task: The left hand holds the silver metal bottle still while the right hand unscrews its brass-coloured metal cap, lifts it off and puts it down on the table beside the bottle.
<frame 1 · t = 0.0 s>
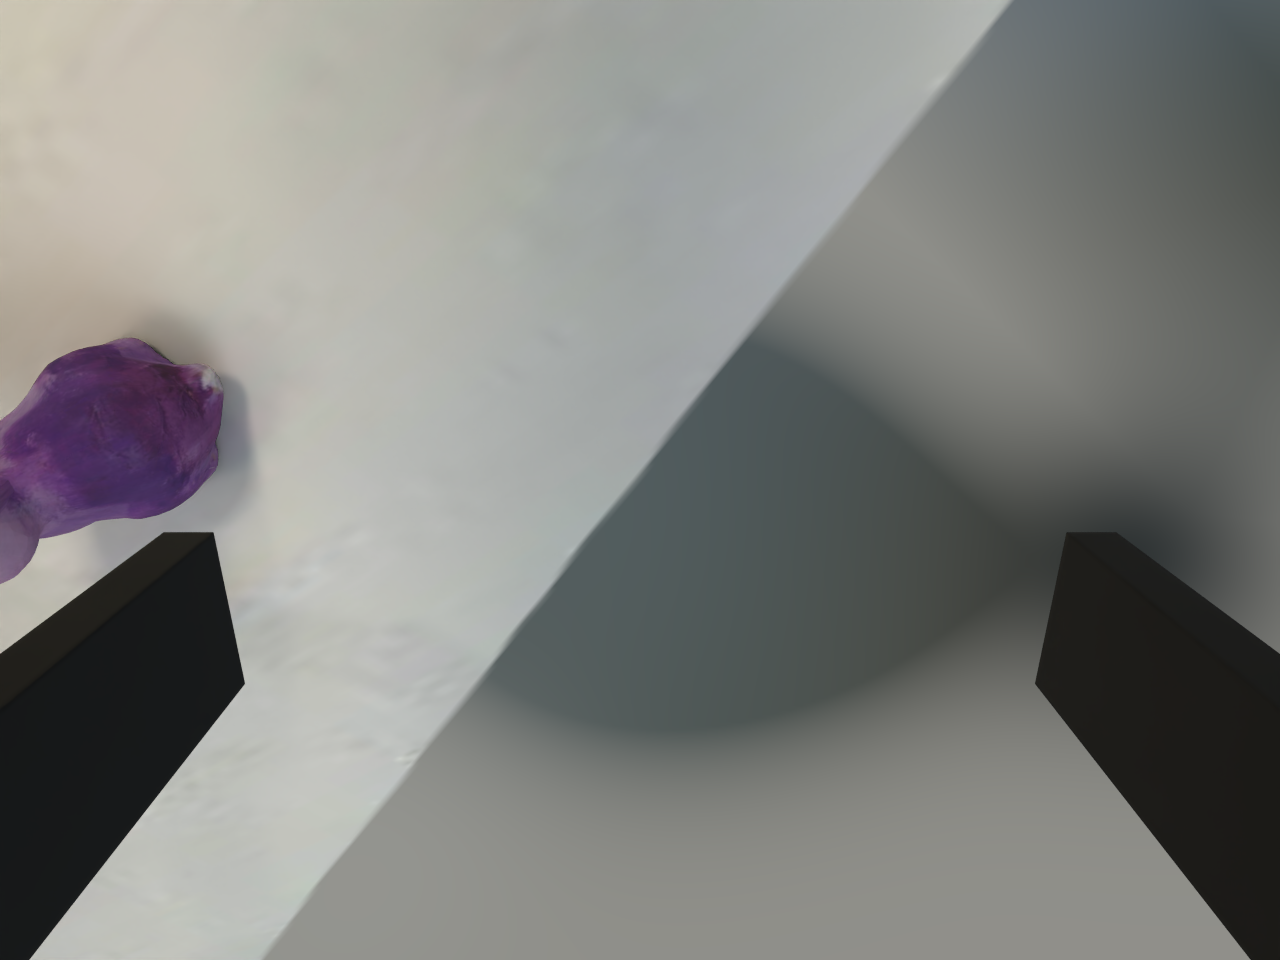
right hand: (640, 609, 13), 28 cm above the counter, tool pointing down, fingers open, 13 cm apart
figurine: (144, 432, 41), on the counter
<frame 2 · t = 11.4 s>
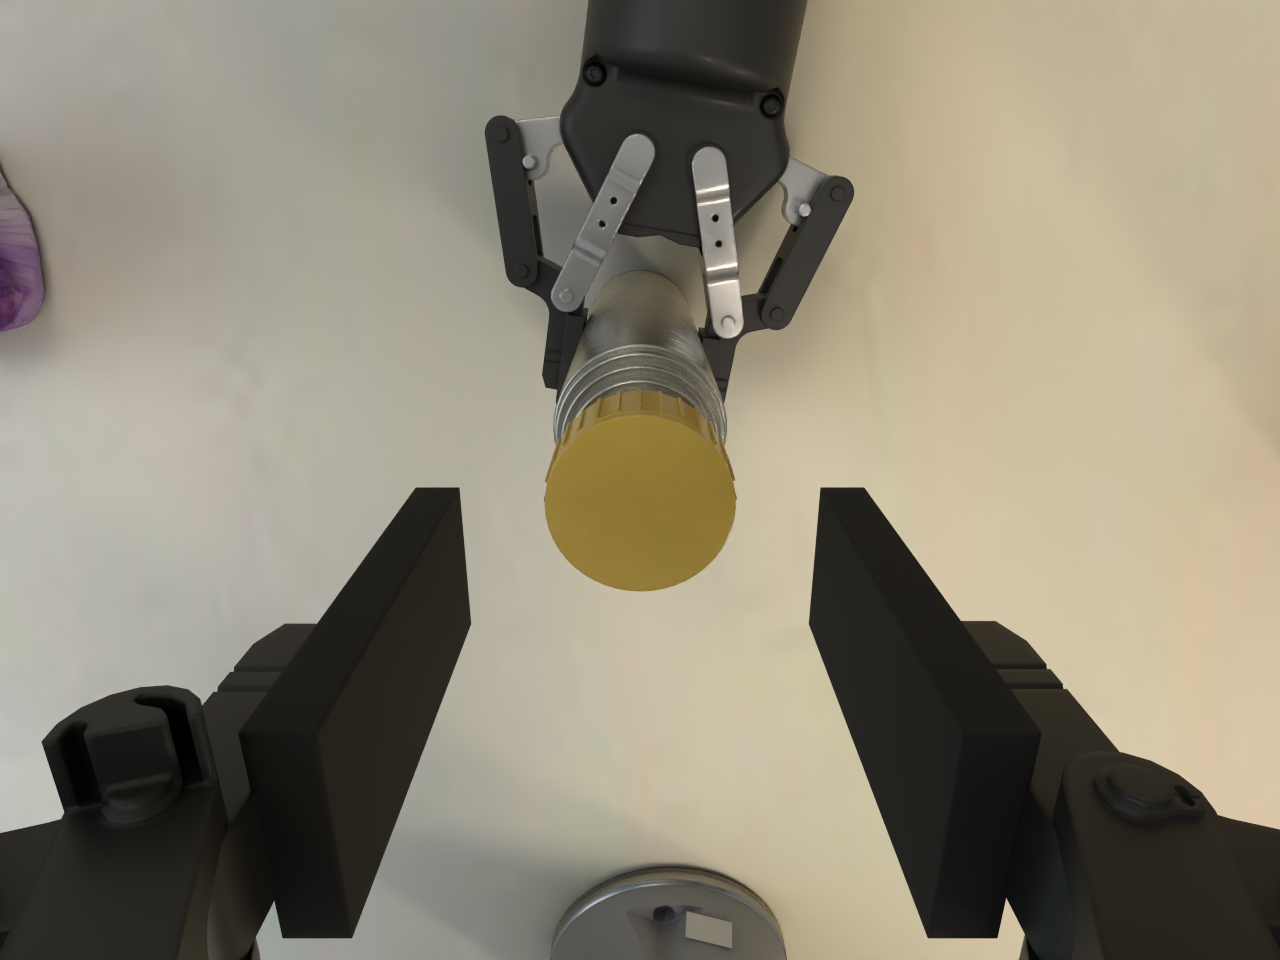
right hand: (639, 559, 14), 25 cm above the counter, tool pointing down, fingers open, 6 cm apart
left hand: (630, 408, 33), fingers closed on bottle, 4 cm apart
cap: (640, 501, 17), point 23 cm above the counter, screwed on, not yet turned
bottle: (640, 321, 38), on the counter, touching left hand
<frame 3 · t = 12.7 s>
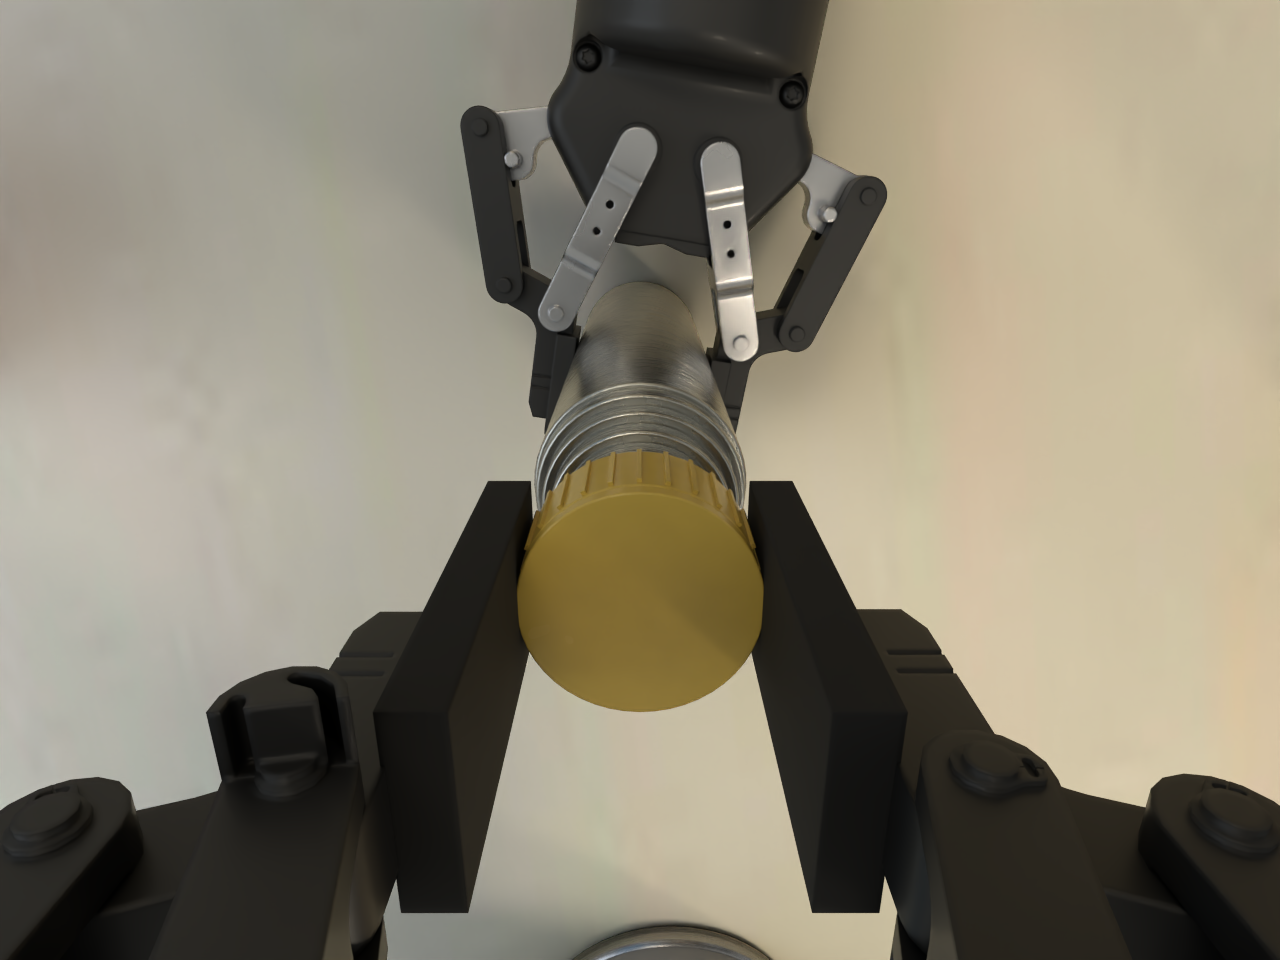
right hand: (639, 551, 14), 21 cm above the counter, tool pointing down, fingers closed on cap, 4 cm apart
left hand: (629, 439, 29), fingers closed on bottle, 4 cm apart
cap: (640, 599, 13), point 23 cm above the counter, screwed on, not yet turned, touching right hand
bottle: (640, 337, 34), on the counter, touching left hand
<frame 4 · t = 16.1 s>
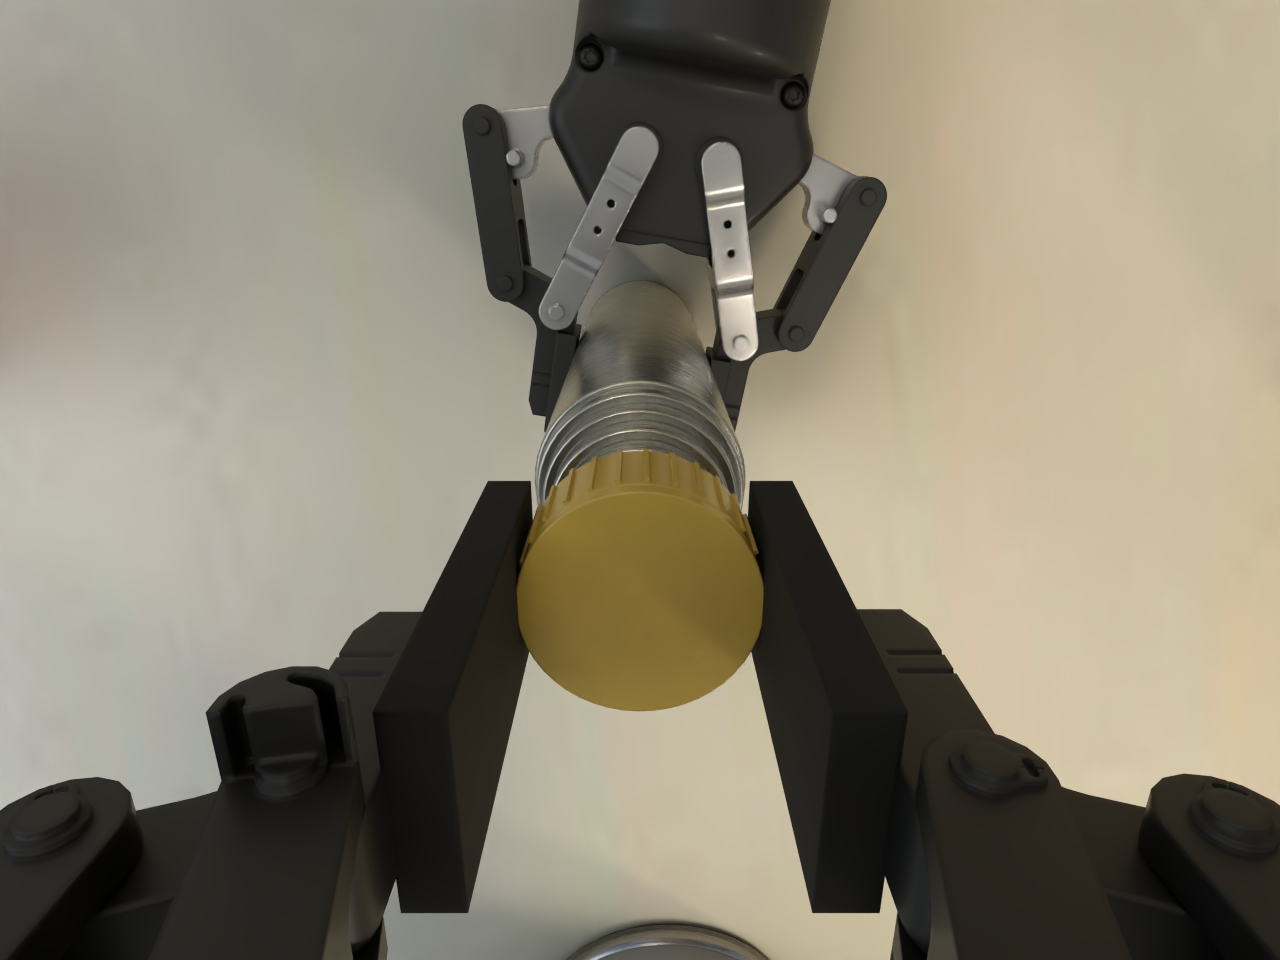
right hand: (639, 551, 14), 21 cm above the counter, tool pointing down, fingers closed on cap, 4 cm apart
left hand: (628, 438, 29), fingers closed on bottle, 4 cm apart
cap: (640, 598, 13), point 23 cm above the counter, turned 113° so far, risen 0.1 cm, still on its thread, touching right hand
bottle: (640, 336, 34), on the counter, touching left hand
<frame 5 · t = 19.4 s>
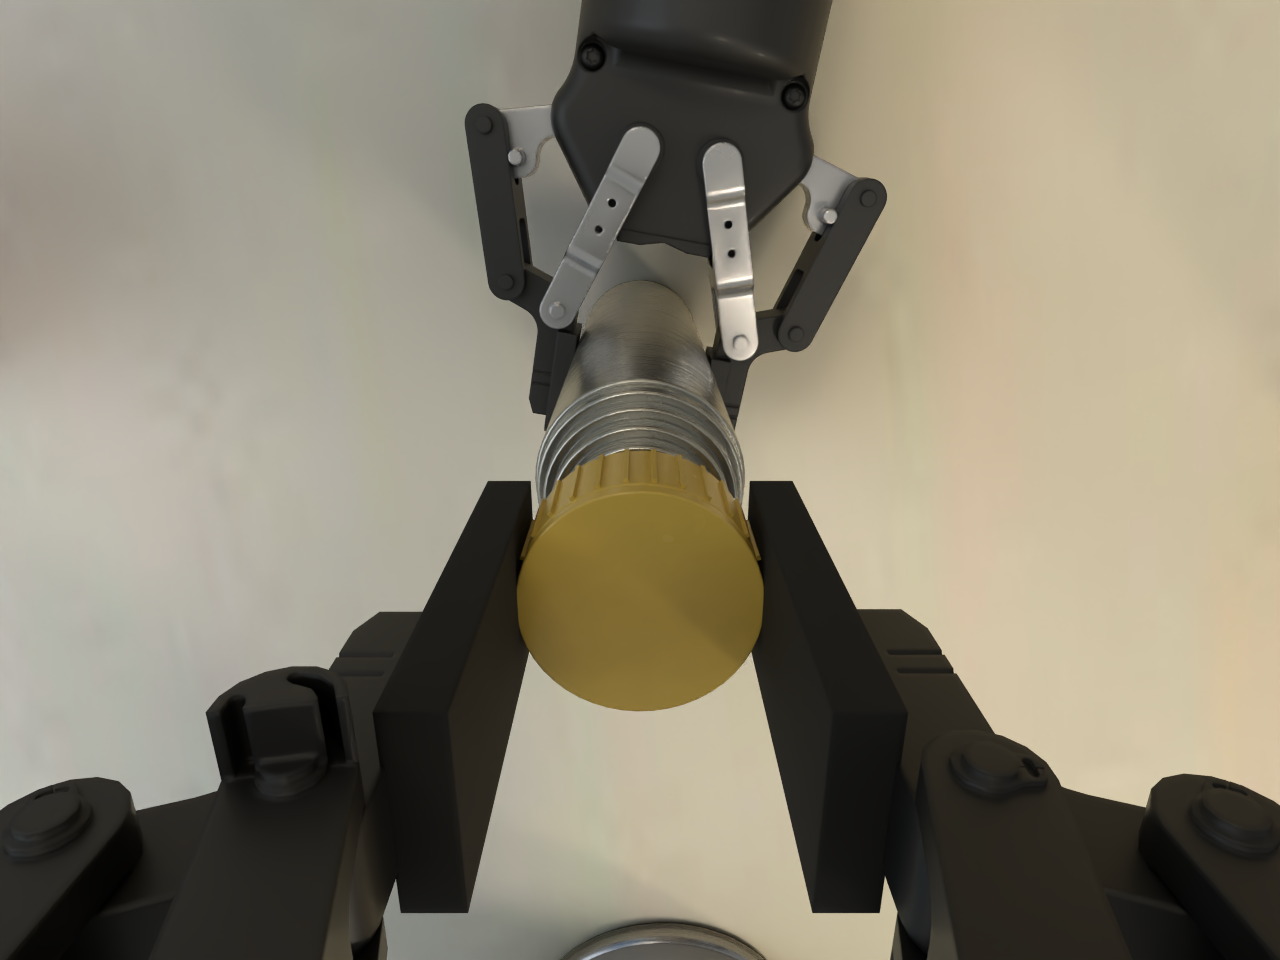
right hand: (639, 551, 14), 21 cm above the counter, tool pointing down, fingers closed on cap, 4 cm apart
left hand: (628, 436, 29), fingers closed on bottle, 4 cm apart
cap: (640, 598, 13), point 23 cm above the counter, turned 225° so far, risen 0.2 cm, still on its thread, touching right hand
bottle: (640, 336, 34), on the counter, touching left hand
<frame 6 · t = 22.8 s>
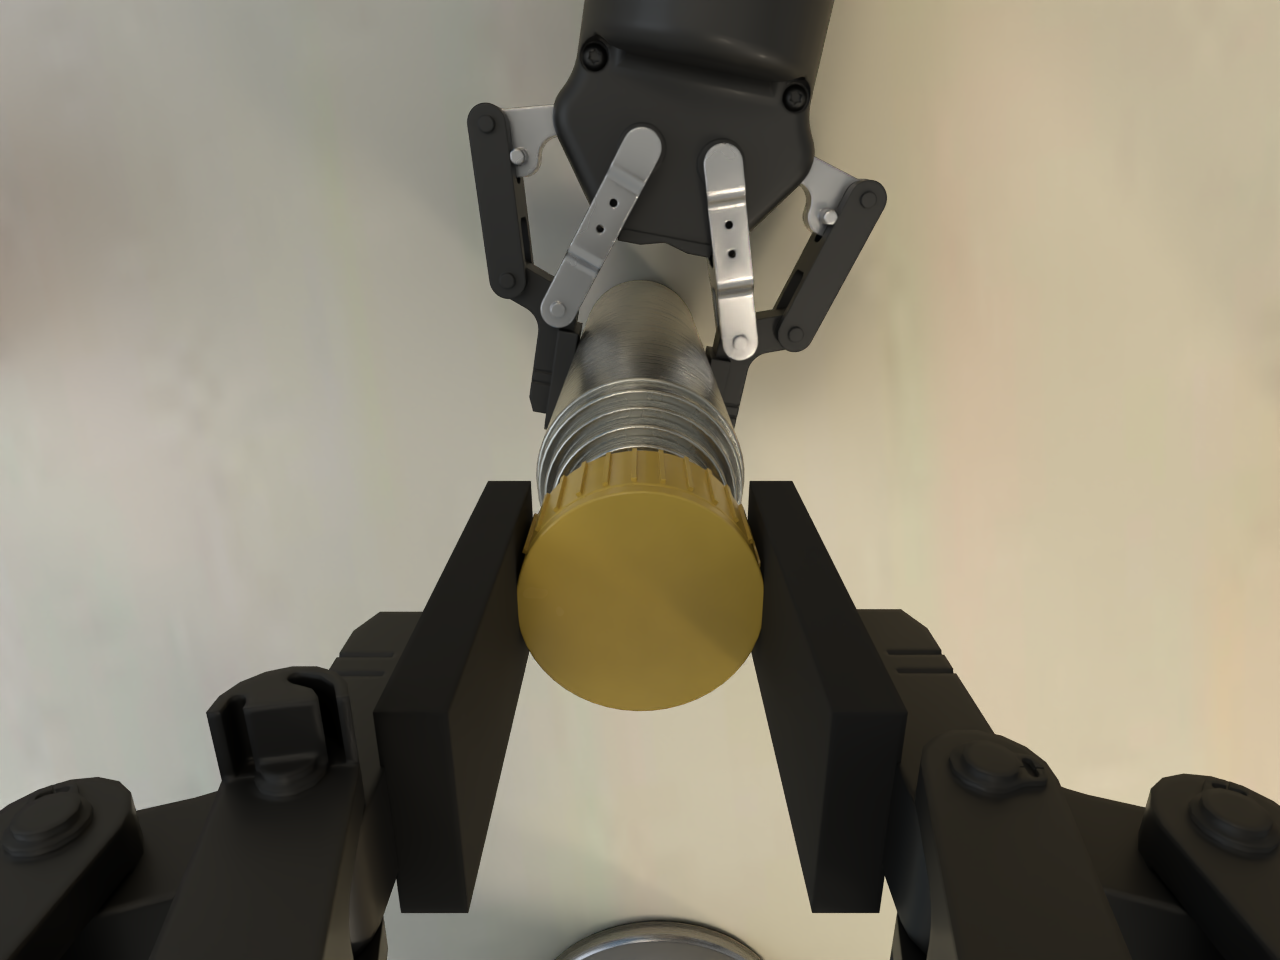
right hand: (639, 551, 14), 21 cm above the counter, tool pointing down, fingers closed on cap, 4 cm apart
left hand: (628, 435, 30), fingers closed on bottle, 4 cm apart
cap: (640, 598, 13), point 23 cm above the counter, turned 338° so far, risen 0.3 cm, still on its thread, touching right hand
bottle: (640, 335, 34), on the counter, touching left hand
when the right hand's fingers open (1 cm above the counter, at t = 30.1 s): cap drops 1 cm, point 2 cm above the counter.
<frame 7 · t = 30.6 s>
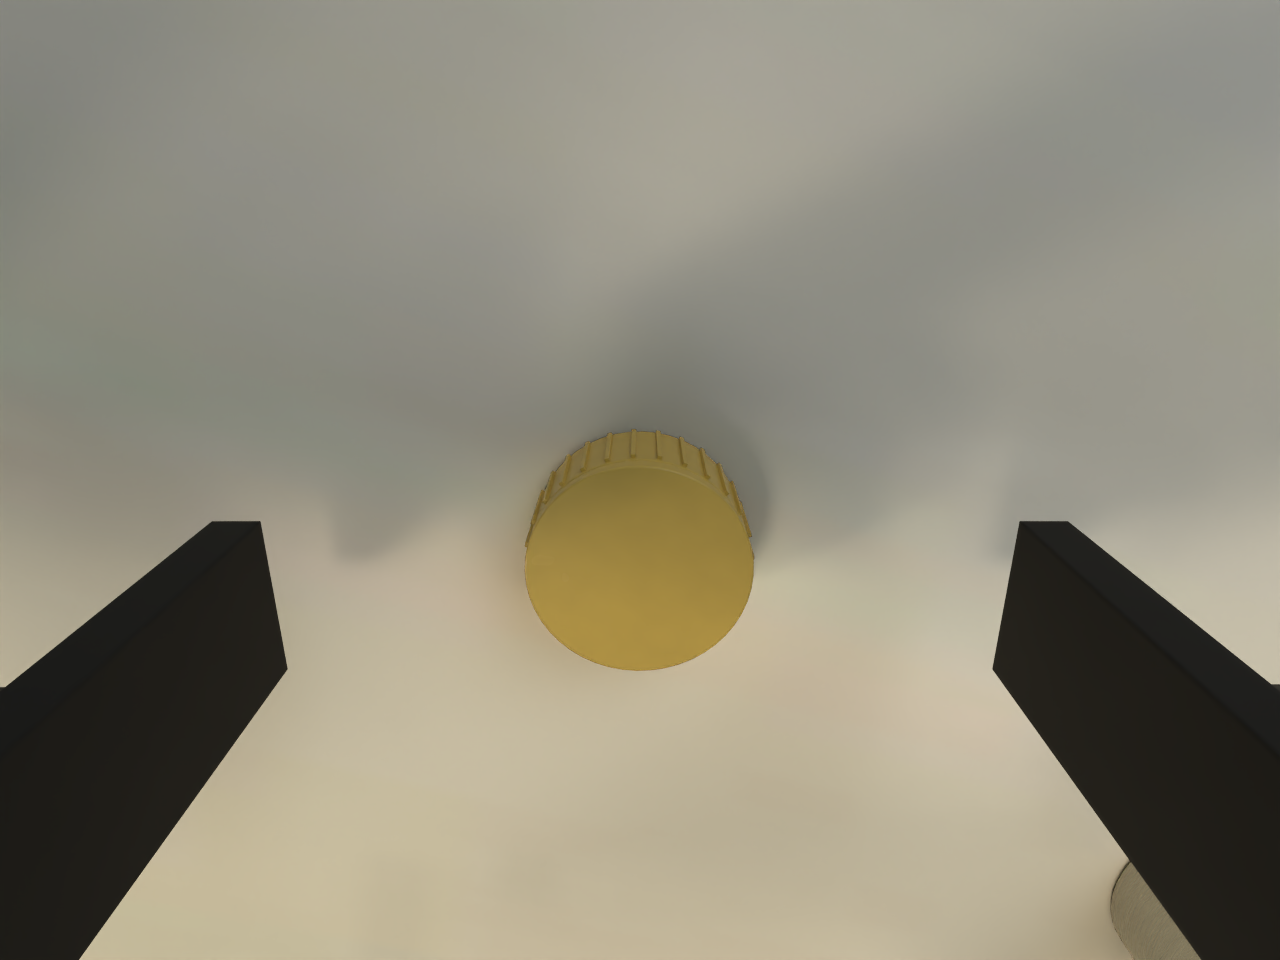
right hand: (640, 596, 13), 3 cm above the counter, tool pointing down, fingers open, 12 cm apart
cap: (639, 566, 14), point 2 cm above the counter, off its thread
bottle: (1210, 892, 19), on the counter, touching left hand
when the left hand's fingers open (6 cm above the counter, at t = 31.4 s): bottle stays where it is, on the counter.
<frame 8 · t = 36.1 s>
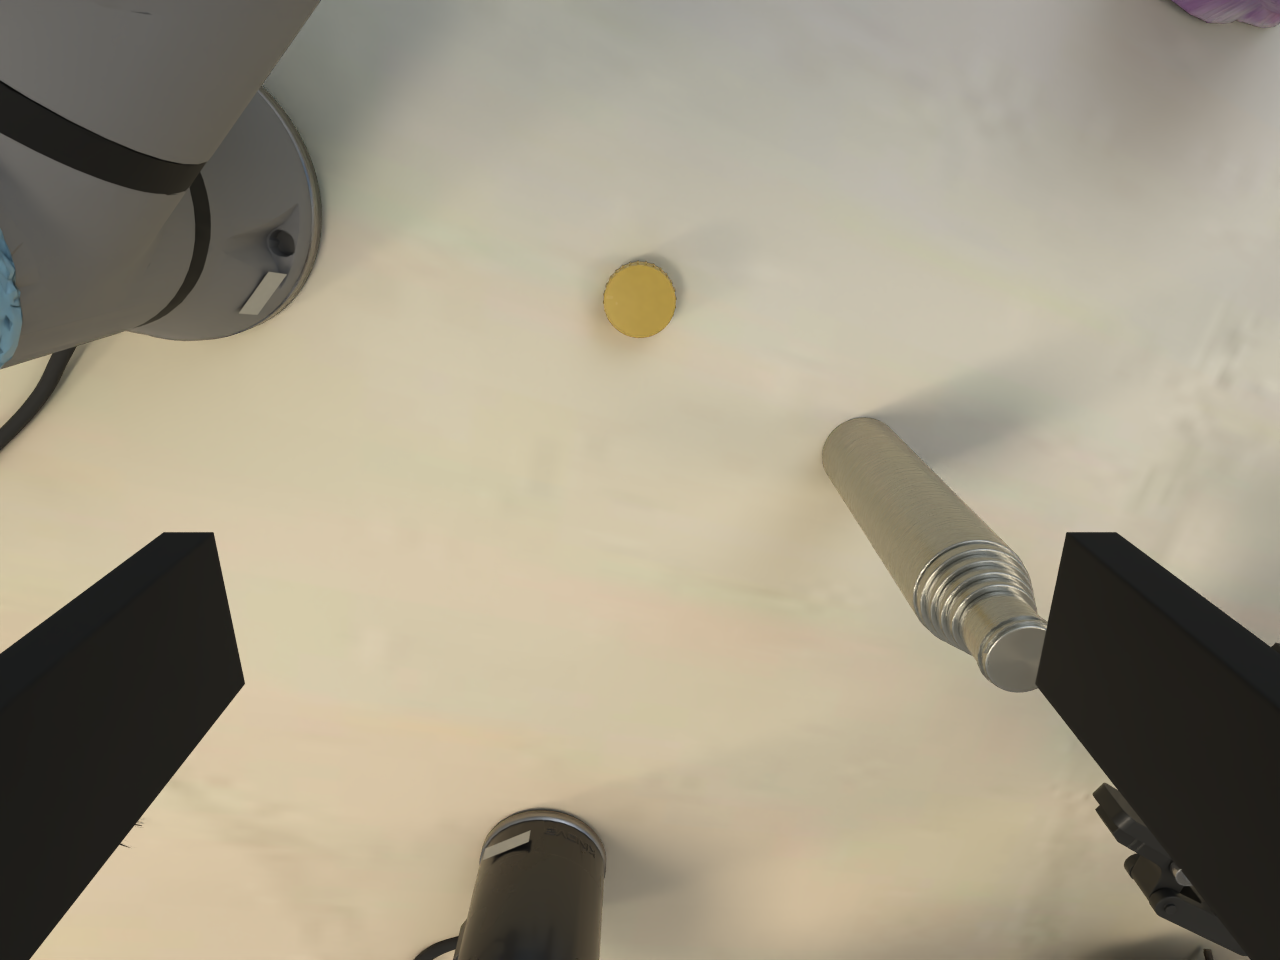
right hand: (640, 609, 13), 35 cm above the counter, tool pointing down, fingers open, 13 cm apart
cap: (639, 301, 44), point 2 cm above the counter, off its thread
bottle: (860, 453, 49), on the counter
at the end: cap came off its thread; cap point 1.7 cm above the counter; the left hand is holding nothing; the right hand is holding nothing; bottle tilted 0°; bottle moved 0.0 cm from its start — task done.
